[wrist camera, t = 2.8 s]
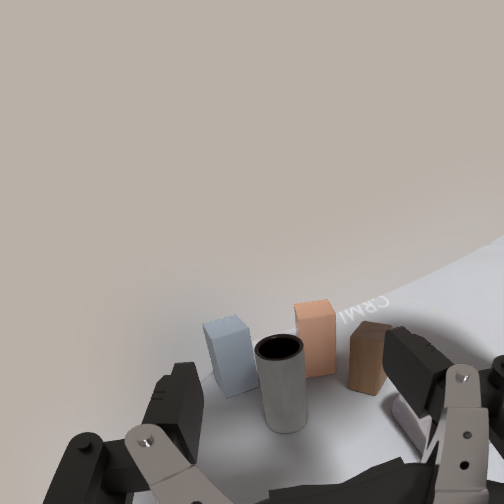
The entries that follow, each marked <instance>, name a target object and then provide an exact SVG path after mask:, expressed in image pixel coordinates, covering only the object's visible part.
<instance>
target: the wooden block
mask: <svg viewBox="0 0 504 504" xmlns="http://www.w3.org/2000/svg"><path fill="white" fill-rule="evenodd" d="M390 329H392V326H391V325H386V324H380V323H374V322H368V321H363V322H362V323H361V324H360V325H359V326H358V328H357V329H356V330H355V331H354V333H353V334H352V335H351V337H350V362H349V381H348V388H349V389H351V390H354V391H358V392H362V393H366V394H370V395H377V394H378V392H379V390H380V388H381V387H382V385H383V383H384V381H385V379H386V378H387V375H386V374H385V372H384V370H383V366H382V356H383V347H384V337H385V332H386V331H387V330H390Z"/></svg>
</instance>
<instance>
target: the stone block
mask: <svg viewBox="0 0 504 504" xmlns="http://www.w3.org/2000/svg"><path fill="white" fill-rule="evenodd" d="M392 415H393V417H394V418H395V420H396V421H397V423H398V424H399V425H400V427H401V428H402V429H403V430H404V432H405V433H406V434H407V436H408V437H409V438H410V440H411V441H412V442H413V444H414V445H415V446H416V448H417V449H418V451H419V452H420V453H421V454H422V455H423V453H424V449H425V444H426V440H427V435H428V429H429V424H430V421H431V416H430V415H428V416H426V417H424V418H422V419H419V418H418V417H417V415H416V414H415V413H414V411H413V410H412V408H411V407H410V406H409V404H408V403H407V402H406V400H405V399H404V398H403V396H402V395H401V394H400V393H399V394H398V395H397V397H396V398H395V400H394V402H393V408H392ZM489 443H490V440H489Z"/></svg>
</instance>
